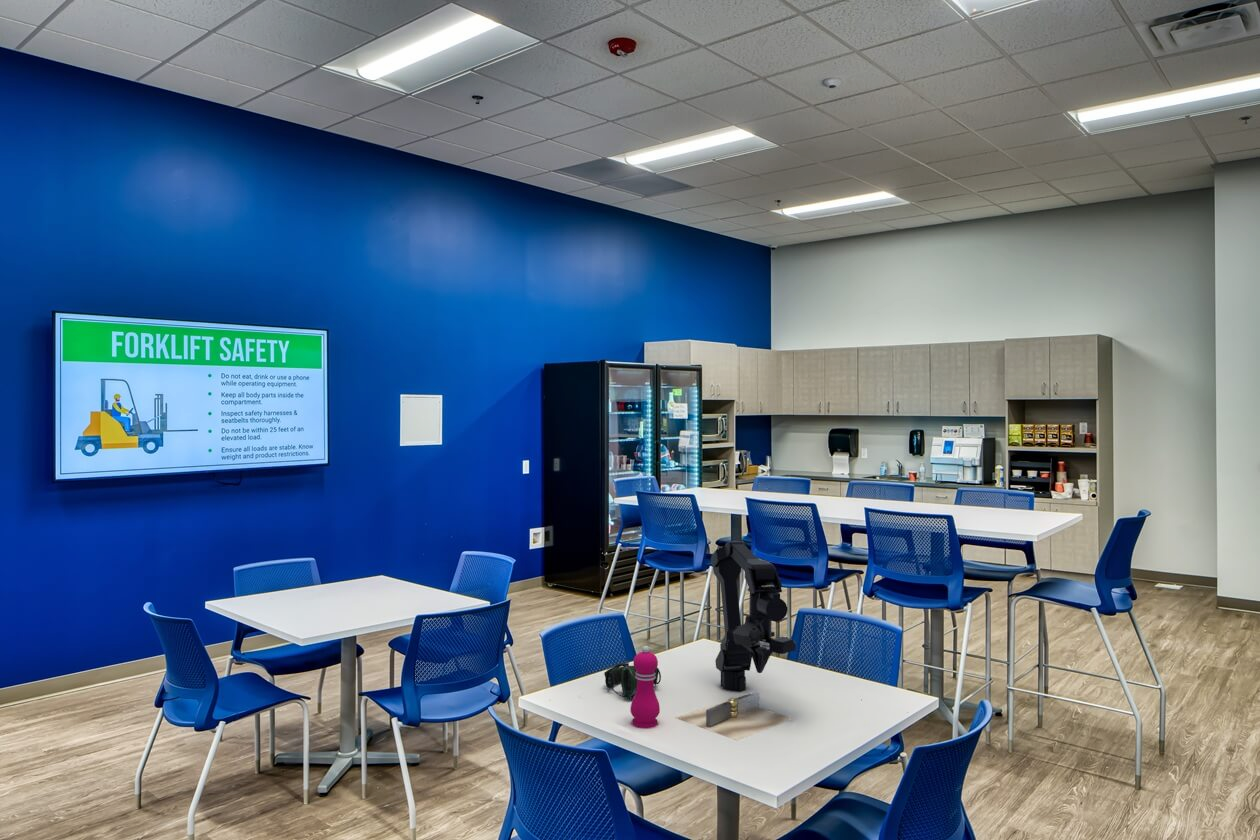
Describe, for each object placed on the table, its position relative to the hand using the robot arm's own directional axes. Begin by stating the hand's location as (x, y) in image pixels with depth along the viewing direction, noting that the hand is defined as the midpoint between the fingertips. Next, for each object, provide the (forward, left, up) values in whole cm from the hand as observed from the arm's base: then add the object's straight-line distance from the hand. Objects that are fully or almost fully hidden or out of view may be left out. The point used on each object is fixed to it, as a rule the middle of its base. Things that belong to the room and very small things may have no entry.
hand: (759, 672), depth 211 cm
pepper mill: (-13, -29, -11) cm, 33 cm away
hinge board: (-1, -9, -11) cm, 14 cm away
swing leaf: (-1, -13, -10) cm, 16 cm away
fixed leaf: (-2, -4, -10) cm, 11 cm away
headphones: (-35, -12, -11) cm, 39 cm away
